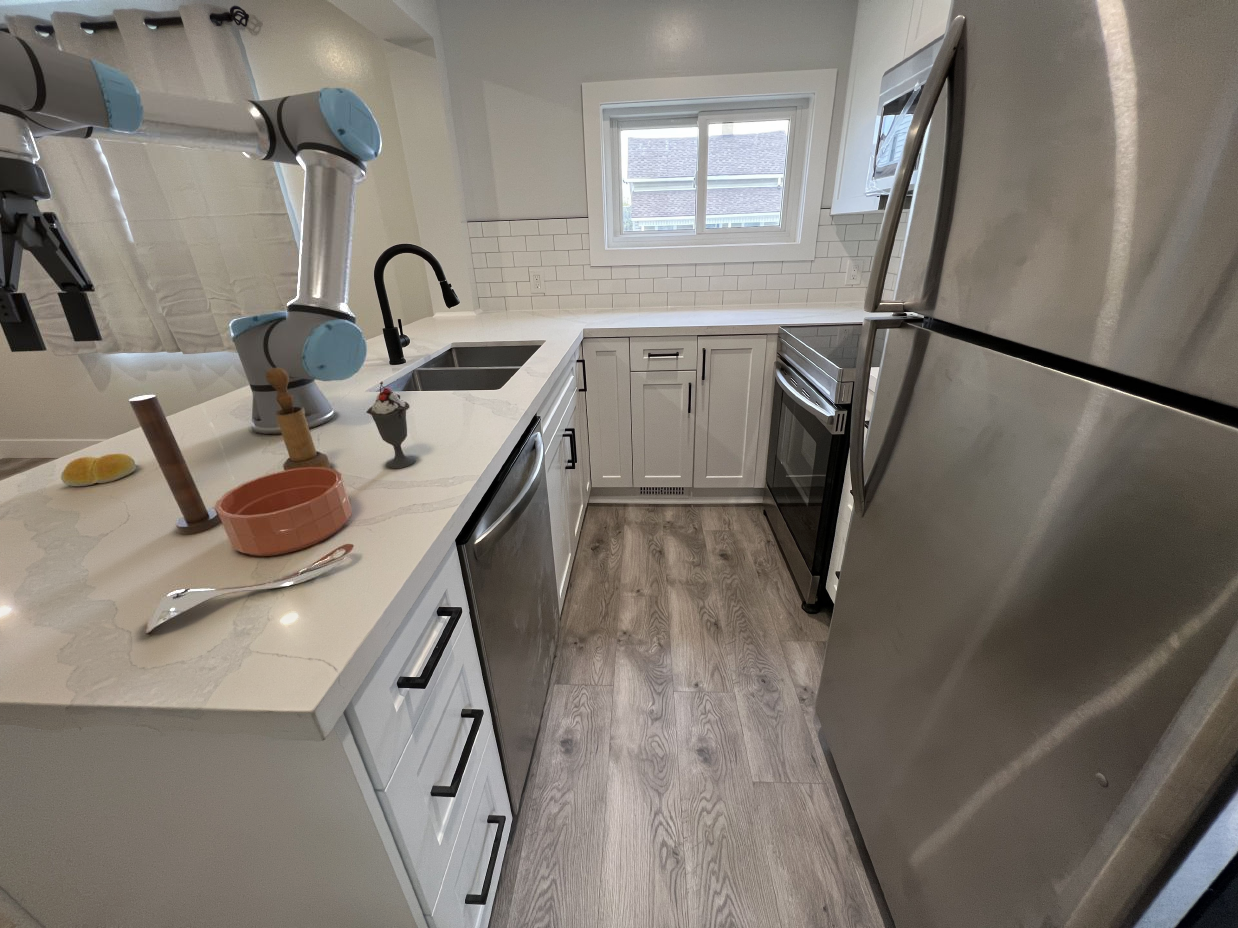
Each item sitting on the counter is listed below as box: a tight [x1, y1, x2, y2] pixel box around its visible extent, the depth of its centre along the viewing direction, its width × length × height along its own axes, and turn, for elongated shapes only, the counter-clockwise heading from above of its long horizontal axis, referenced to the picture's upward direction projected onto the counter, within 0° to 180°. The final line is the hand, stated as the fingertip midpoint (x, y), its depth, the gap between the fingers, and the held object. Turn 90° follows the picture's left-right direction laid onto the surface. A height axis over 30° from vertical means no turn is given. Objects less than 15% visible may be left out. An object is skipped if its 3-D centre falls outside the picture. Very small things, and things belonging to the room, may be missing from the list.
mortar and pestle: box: [266, 368, 332, 471], centre depth 81 cm, size 7×6×18 cm
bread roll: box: [60, 453, 137, 487], centre depth 86 cm, size 8×9×4 cm
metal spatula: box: [145, 543, 356, 634], centre depth 55 cm, size 20×4×5 cm
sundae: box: [365, 381, 417, 470], centre depth 84 cm, size 7×7×15 cm
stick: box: [128, 394, 221, 535], centre depth 66 cm, size 5×5×19 cm
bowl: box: [214, 467, 352, 557], centre depth 67 cm, size 14×14×6 cm
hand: (61, 346), depth 65 cm, fingers open, 13 cm apart
